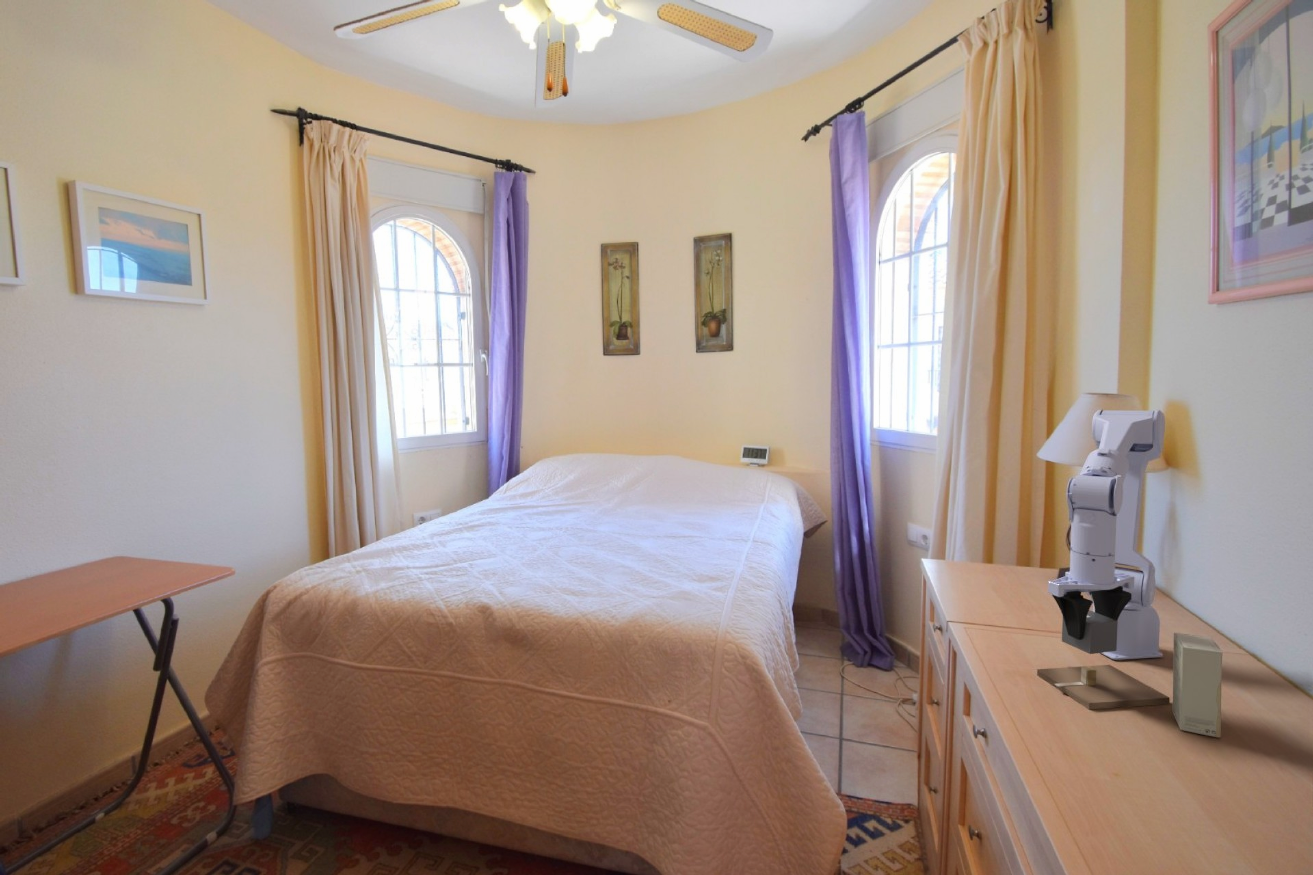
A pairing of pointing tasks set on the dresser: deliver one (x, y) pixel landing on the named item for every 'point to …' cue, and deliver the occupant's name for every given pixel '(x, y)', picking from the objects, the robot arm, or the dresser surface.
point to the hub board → (1102, 687)
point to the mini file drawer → (1094, 634)
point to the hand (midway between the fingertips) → (1089, 635)
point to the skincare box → (1197, 684)
